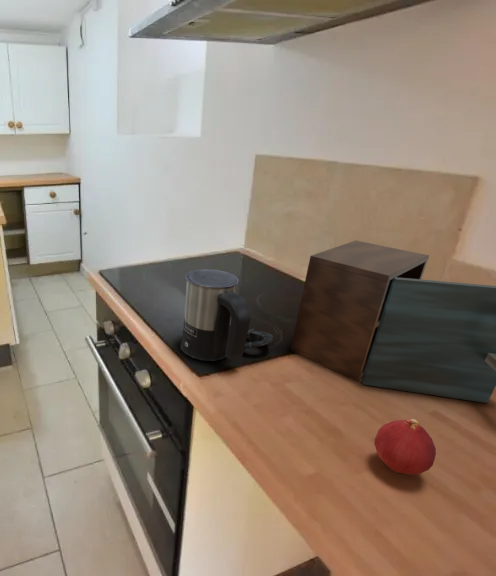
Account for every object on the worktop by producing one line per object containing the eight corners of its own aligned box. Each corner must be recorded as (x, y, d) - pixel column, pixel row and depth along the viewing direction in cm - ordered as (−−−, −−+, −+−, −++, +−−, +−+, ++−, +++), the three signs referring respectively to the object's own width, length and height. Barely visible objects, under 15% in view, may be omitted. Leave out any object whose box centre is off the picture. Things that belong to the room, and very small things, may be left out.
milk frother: (169, 347, 73) (174, 276, 68) (216, 322, 83) (223, 257, 77) (235, 381, 64) (247, 300, 58) (279, 347, 73) (293, 276, 68)
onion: (374, 444, 51) (391, 396, 48) (428, 470, 47) (450, 419, 44) (362, 469, 47) (379, 418, 44) (419, 499, 43) (443, 446, 40)
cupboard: (397, 349, 73) (429, 255, 66) (357, 381, 64) (389, 275, 56) (333, 325, 82) (355, 240, 75) (290, 350, 73) (310, 255, 65)
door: (517, 434, 52) (581, 313, 45) (377, 411, 57) (416, 297, 49) (483, 399, 59) (535, 289, 52) (361, 381, 63) (393, 276, 56)
